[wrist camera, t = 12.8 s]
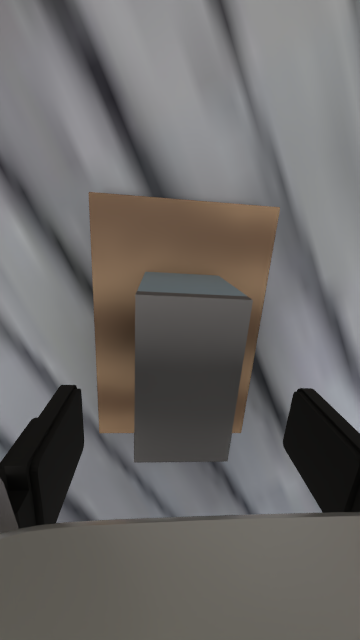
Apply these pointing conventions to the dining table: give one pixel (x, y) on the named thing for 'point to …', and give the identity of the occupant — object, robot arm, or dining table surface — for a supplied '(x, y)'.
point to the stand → (168, 257)
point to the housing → (187, 366)
